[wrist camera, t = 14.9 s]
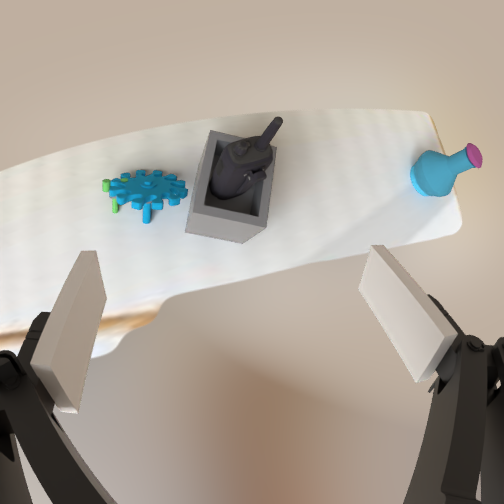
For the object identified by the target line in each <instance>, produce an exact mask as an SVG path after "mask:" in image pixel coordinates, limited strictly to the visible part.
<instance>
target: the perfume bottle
mask: <svg viewBox="0 0 504 504" xmlns="http://www.w3.org/2000/svg"><path fill="white" fill-rule="evenodd" d="M481 165H482V155H481V153H480V151H479V149H478V148H477V147H476V146H475V145H473V144H471V143H468V144H467V147H465V149H463V150H461V151H459V152H457V153H455V154H453V155H451V156H446V155H443V154H441V153H438V152H435V151H431V150H428V151H426V152H425V153H423V154H422V155H421V156H420V157H419V159H418V161H417V162H416V163H415V165H414V166H413V167H412V168H411V172H410V177H411V181H412V184H413V186H414V187H415V189H416V190H417V191H418V192H419V193H420V194H421V195H423V196H428V195H429V196H437V197H442V196H446V195H448V194H449V193H450V192H451V189H452V187H453V185H454V182H455V179H456V177H457V174H459V173H461V172H464V171H466V170H468V169H471V168H475V167H477V168H480V167H481Z"/></svg>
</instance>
